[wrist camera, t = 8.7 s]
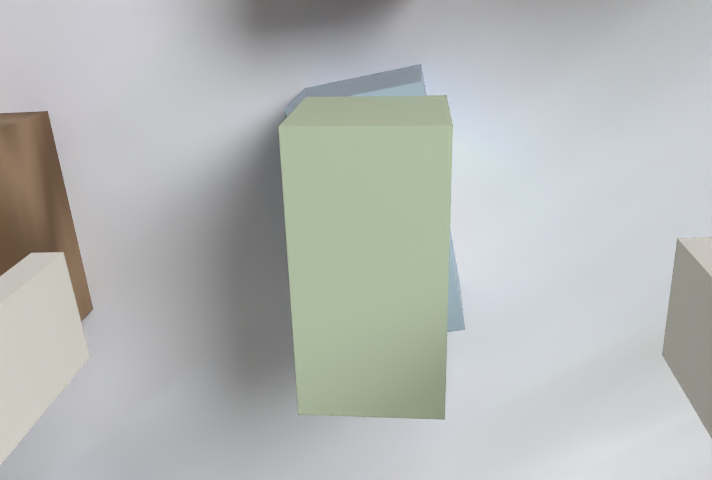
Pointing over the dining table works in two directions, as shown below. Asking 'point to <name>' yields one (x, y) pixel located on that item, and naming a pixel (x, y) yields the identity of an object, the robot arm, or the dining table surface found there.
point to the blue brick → (392, 85)
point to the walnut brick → (36, 200)
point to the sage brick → (368, 253)
